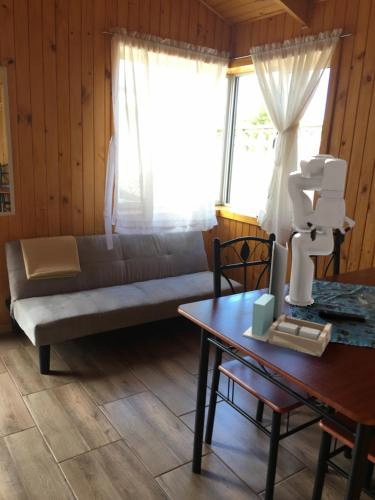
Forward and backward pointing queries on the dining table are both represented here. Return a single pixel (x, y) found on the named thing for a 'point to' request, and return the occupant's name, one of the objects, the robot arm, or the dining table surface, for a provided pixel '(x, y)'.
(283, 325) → the offcut
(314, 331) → the offcut
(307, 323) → the crate
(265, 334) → the mat
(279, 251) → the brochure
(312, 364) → the dining table surface
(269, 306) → the teal rectangular block
